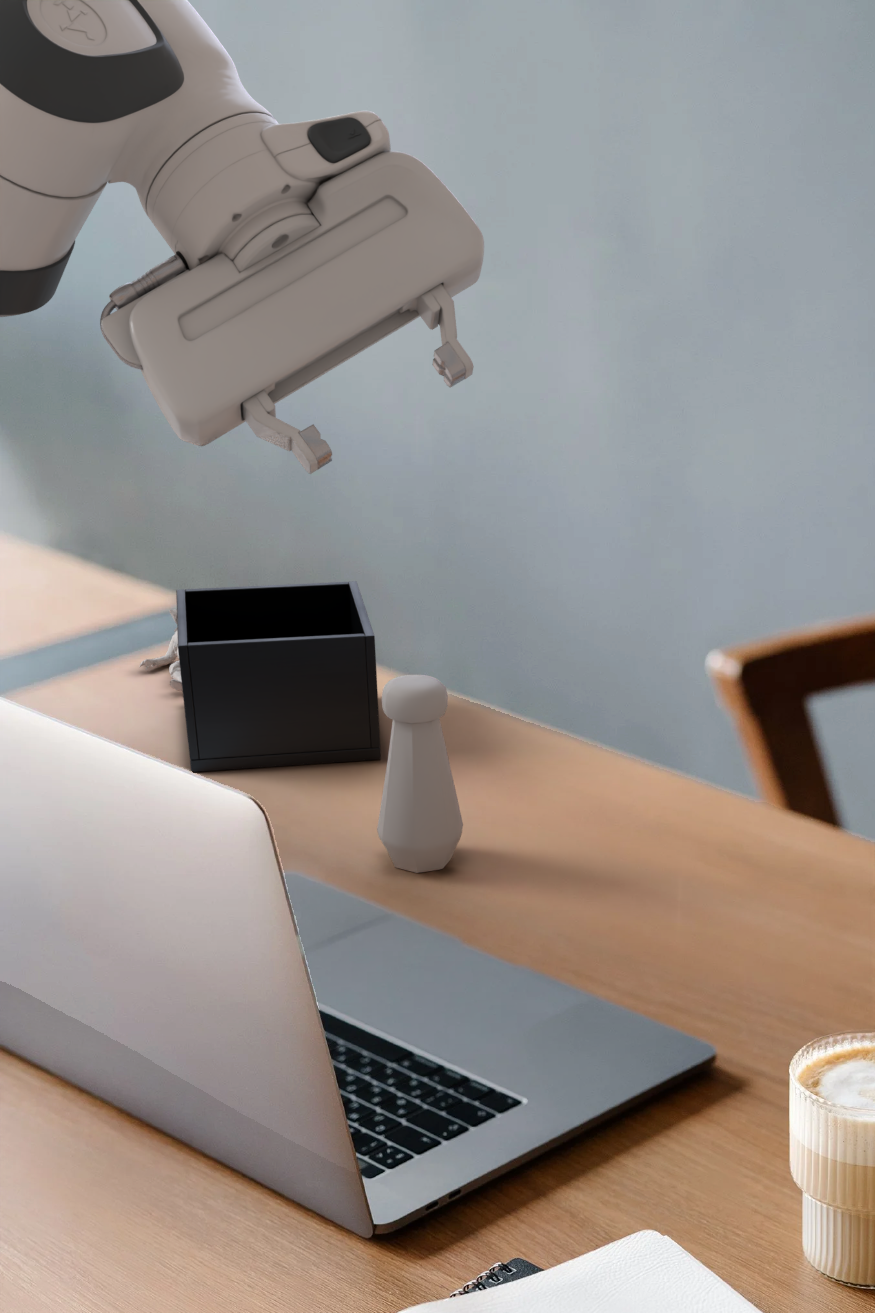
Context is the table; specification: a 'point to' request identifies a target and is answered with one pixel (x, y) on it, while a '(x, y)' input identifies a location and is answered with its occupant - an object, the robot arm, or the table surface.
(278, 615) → the waste bin
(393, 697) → the salt shaker
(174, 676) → the soldier figure
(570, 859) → the table surface
